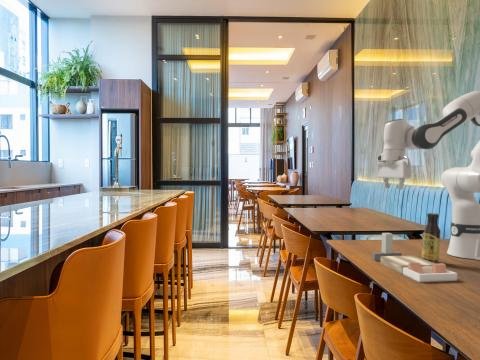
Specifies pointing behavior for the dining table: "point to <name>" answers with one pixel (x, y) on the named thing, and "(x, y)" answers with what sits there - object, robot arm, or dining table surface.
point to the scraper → (385, 248)
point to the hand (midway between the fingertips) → (393, 188)
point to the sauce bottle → (431, 239)
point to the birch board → (402, 262)
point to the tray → (430, 275)
